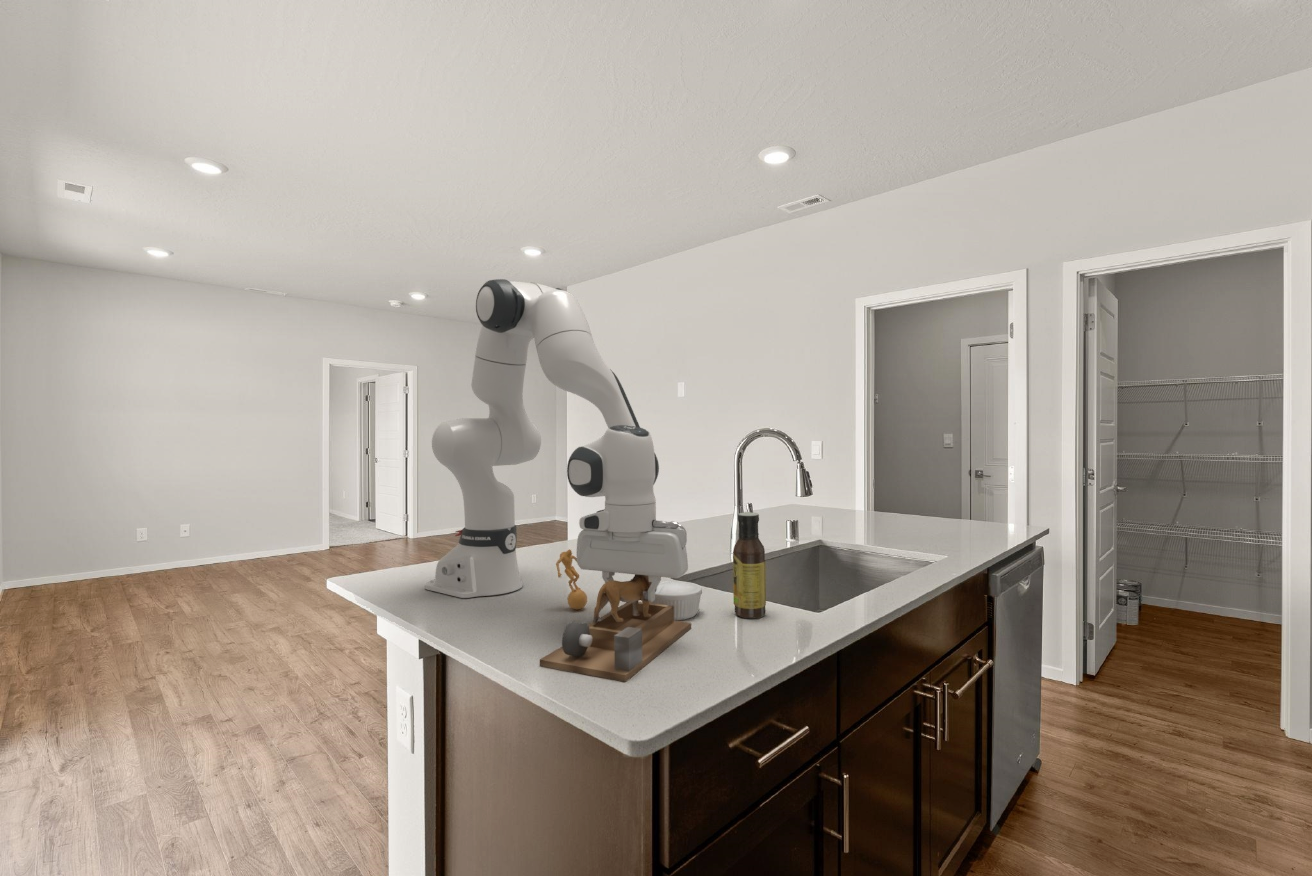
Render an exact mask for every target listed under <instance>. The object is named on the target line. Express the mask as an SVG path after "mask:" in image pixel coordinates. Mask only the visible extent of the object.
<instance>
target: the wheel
mask: <svg viewBox="0 0 1312 876" xmlns="http://www.w3.org/2000/svg"><path fill="white" fill-rule="evenodd" d="M561 644H562V645H561V647H562V648H563V651H564V653H565V654H567V655H572V656H578V657H580V656H582V655H584V653H585V652H586V650H587V648H588V647H590V646H591V644H592V636H591V635H590V630H589V627H588V624H587V623H584V622H583V623H582V622H576V621H571V622H570V623H568V624H567V625H566V627H565V628H564V632H563V634H562V640H561Z"/></svg>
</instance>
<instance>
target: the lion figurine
mask: <svg viewBox="0 0 1312 876" xmlns="http://www.w3.org/2000/svg"><path fill="white" fill-rule="evenodd" d="M651 583H652V582H649V576H646V575H636V574H634V576H633V578H631V579H630V580H626V581H619V580H616V579H614V580H612V581H608V582H606V583H605V582H604V584H602V585H601V587H600V588H599V591H598V593H597V594H598V595H597V596H596V597H597V598H596V603H595V604H596V605H595V607H594V609H593V621H592V622H597V621H601V618H600V612H601V610H603V609H604V608H605V607H606V606H607V604H608V603H609V604H610V607H611V610H610V612H611V615H612V616H613V617H614V619H615V620H616V621H617V622H624V620H623V618H620V617H619V616H618V614H617V609H618V607H620V606H619V605H620V602H622V603H629V602H632V605H633V611H632V614H633V616H639V615H640V613H639V612H638V602H643V614H644V617H651V614H649V613H648V609H649V601H644V600H643V597H644V596H643V591H644V590H646V589H649V587H650V585H651ZM656 590H657V588H656ZM656 590H655V592H656Z"/></svg>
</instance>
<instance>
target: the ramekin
mask: <svg viewBox="0 0 1312 876" xmlns="http://www.w3.org/2000/svg"><path fill="white" fill-rule="evenodd" d="M702 593H703V588H702V586H701V585H700V584H697V583H694V582H689V581H684V580H683V581H682V580H681V581H680V580H669V581H660V583H659V585H658V586H657V590H656V592H655V600H654V601H652V602H649V603H654V604H662V605H670V606H674V620H675V621H683V620H689V619H691V618H693V617H695V616H696V615H697V613H698V612H699V609H700V602H701V595H702Z"/></svg>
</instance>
